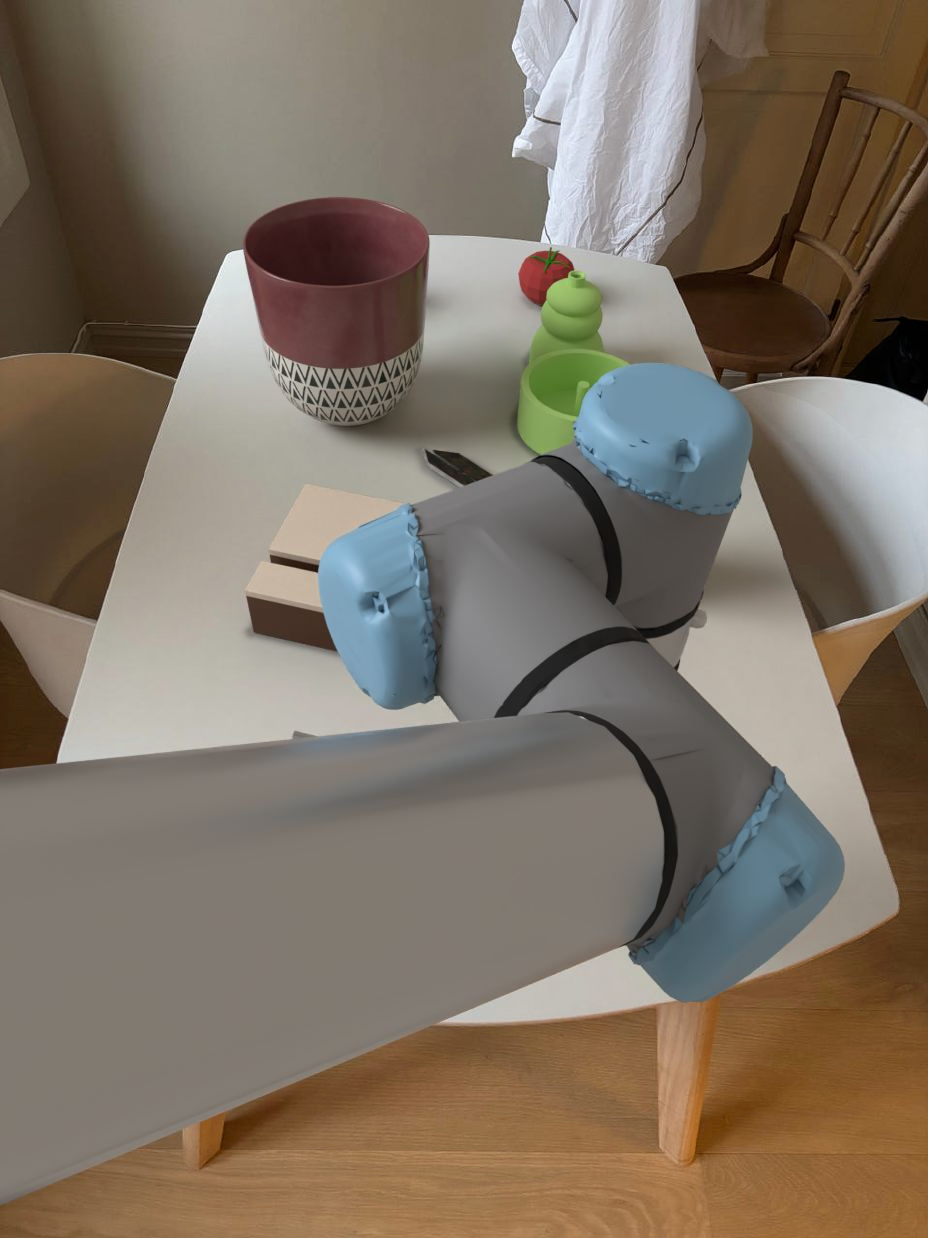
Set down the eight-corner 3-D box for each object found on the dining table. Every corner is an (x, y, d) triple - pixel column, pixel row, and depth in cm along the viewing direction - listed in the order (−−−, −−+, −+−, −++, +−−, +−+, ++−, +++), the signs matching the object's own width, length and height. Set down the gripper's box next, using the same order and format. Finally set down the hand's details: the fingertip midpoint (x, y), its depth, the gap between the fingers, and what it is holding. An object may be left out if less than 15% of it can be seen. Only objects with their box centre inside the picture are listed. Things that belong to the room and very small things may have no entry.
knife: (412, 458, 109) (412, 449, 107) (454, 436, 111) (454, 427, 110) (566, 580, 96) (568, 571, 95) (609, 552, 99) (611, 543, 98)
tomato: (582, 296, 133) (589, 245, 128) (556, 321, 129) (562, 268, 123) (533, 279, 136) (538, 228, 130) (506, 303, 132) (510, 251, 126)
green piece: (646, 465, 109) (668, 372, 100) (522, 465, 108) (532, 371, 99) (615, 345, 125) (630, 255, 116) (506, 344, 125) (513, 254, 115)
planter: (302, 477, 106) (280, 303, 90) (246, 384, 117) (217, 216, 101) (456, 431, 112) (461, 262, 96) (388, 348, 123) (383, 183, 107)
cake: (389, 616, 92) (388, 574, 88) (275, 591, 94) (268, 548, 90) (418, 548, 99) (418, 505, 94) (311, 526, 100) (305, 483, 96)
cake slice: (372, 659, 89) (369, 617, 84) (253, 632, 90) (244, 590, 86) (384, 628, 91) (383, 586, 87) (269, 603, 93) (261, 560, 88)
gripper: (667, 771, 45) (594, 962, 63) (695, 557, 55) (626, 774, 73) (515, 735, 46) (485, 933, 64) (569, 531, 56) (531, 751, 74)
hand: (560, 848), depth 68 cm, fingers closed on cake knife, 2 cm apart
